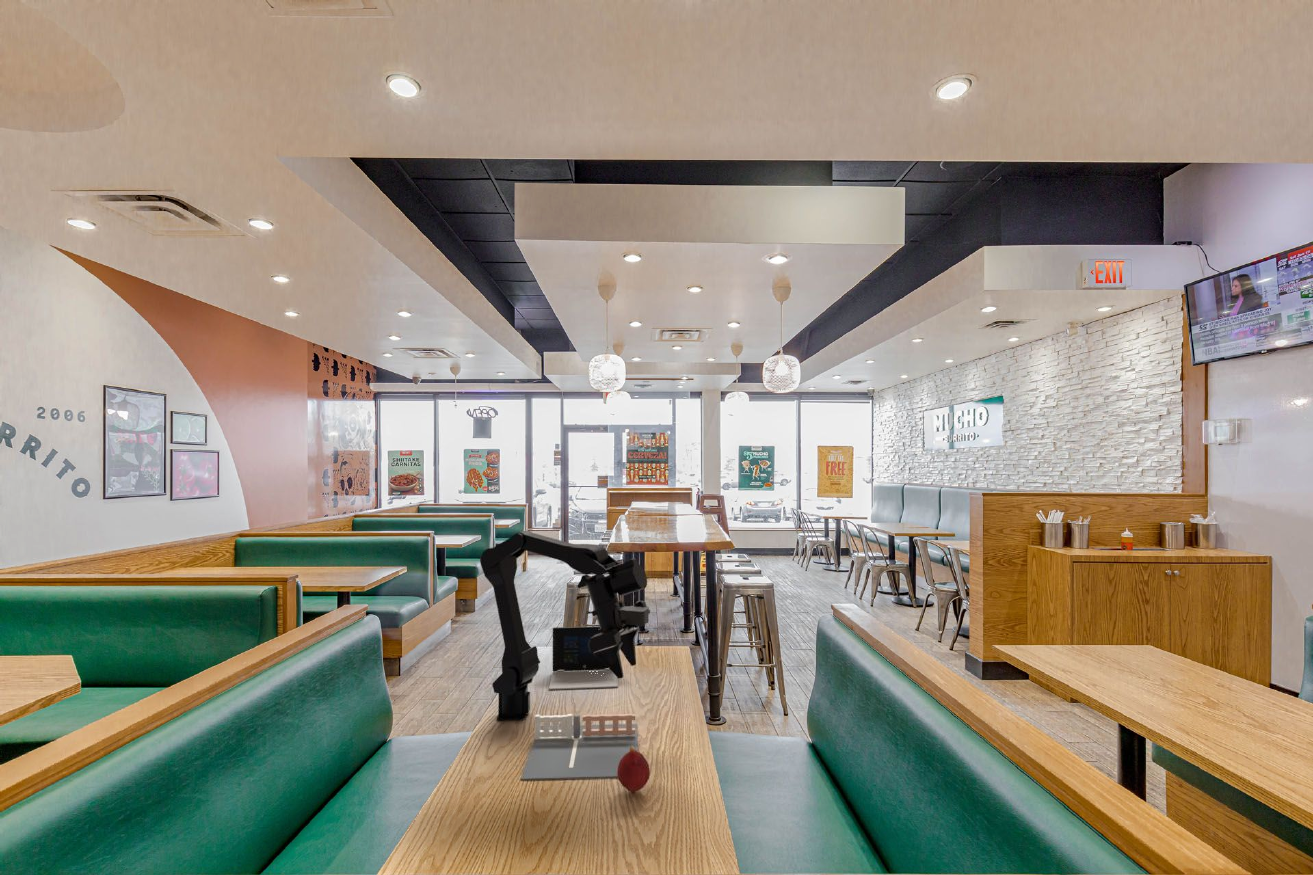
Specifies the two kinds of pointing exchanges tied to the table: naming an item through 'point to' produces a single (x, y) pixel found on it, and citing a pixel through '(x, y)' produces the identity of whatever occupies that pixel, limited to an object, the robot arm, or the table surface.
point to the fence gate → (602, 730)
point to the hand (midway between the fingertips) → (627, 671)
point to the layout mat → (578, 755)
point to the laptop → (578, 661)
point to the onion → (633, 771)
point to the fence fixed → (554, 726)
